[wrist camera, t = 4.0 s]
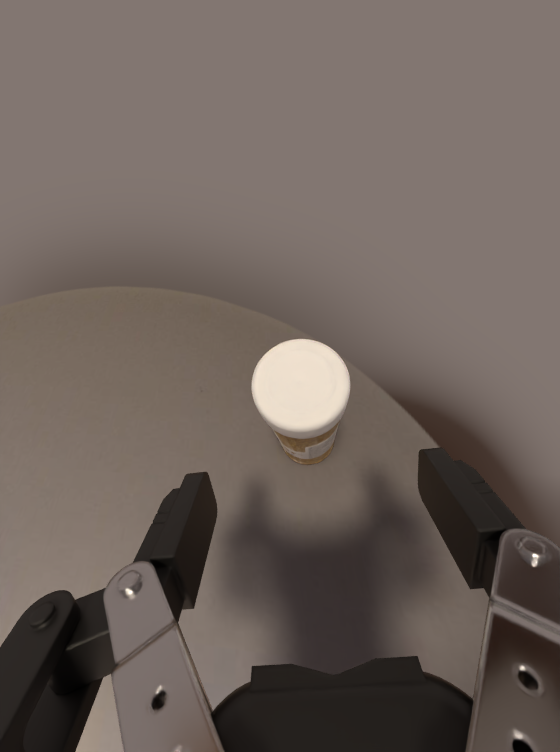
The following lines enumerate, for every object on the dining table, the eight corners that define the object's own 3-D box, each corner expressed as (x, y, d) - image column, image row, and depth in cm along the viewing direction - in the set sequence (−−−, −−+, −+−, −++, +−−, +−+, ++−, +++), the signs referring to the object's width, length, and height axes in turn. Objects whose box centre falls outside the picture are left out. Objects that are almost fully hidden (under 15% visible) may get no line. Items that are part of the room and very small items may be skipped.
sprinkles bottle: (271, 430, 27) (231, 367, 15) (315, 402, 27) (313, 318, 15) (300, 477, 25) (283, 451, 13) (346, 446, 26) (373, 393, 13)
